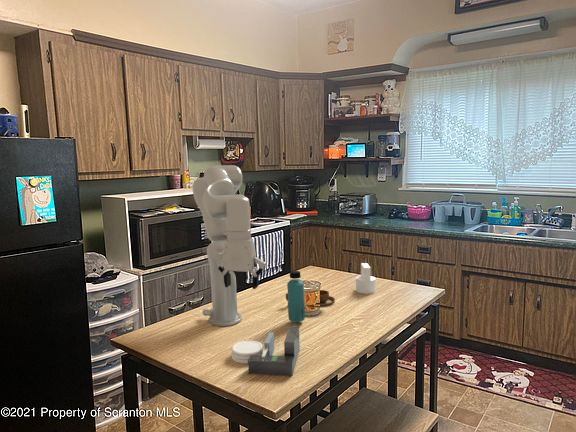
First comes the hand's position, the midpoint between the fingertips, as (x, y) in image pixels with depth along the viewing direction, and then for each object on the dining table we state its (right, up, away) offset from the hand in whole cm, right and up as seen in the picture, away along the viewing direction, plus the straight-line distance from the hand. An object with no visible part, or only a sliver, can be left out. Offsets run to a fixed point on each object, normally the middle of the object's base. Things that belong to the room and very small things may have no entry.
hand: (241, 287), depth 141 cm
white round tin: (+2, -22, -3) cm, 22 cm away
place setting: (+25, -15, +46) cm, 55 cm away
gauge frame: (+11, -22, -7) cm, 26 cm away
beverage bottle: (+18, -18, +24) cm, 35 cm away
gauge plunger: (+9, -21, -7) cm, 24 cm away
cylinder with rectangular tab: (+51, -12, +60) cm, 79 cm away
